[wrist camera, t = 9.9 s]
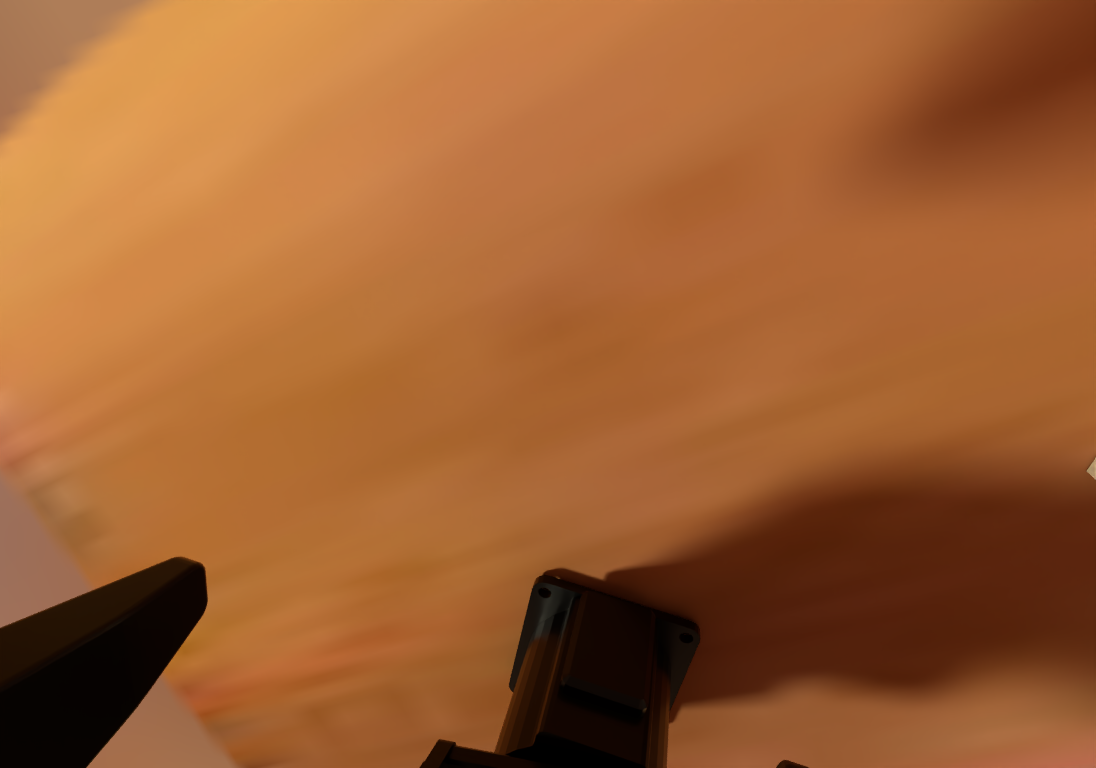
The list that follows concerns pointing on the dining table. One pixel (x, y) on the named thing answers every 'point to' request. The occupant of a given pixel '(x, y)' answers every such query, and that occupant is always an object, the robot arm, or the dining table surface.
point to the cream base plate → (1092, 469)
